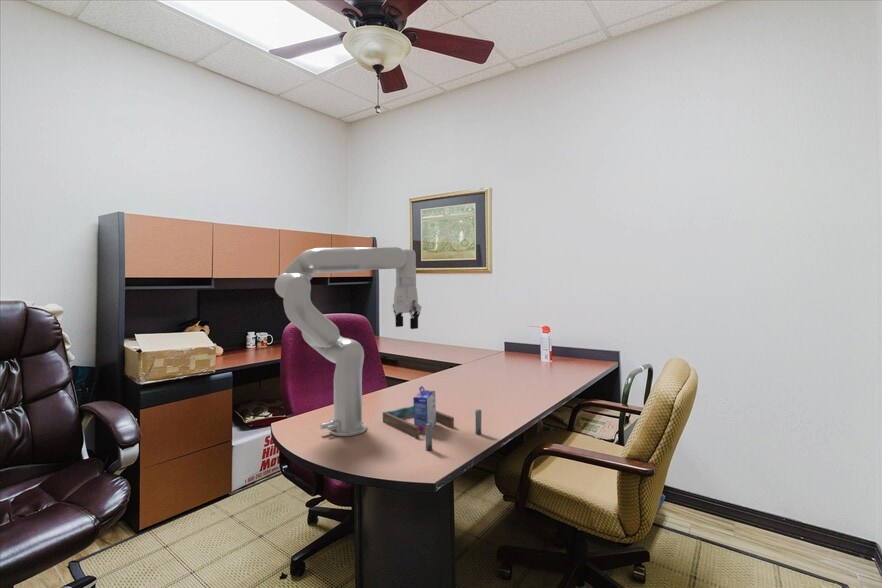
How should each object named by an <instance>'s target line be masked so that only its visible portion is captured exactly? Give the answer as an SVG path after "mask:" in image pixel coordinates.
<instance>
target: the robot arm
mask: <svg viewBox="0 0 882 588" xmlns="http://www.w3.org/2000/svg"><path fill="white" fill-rule="evenodd" d="M416 256H417V255H416V251H415V250H414V249H402V248H401V247H397V246H393V247H390V246H387V247H355V246H354V247H351V246H349V247H315V248H311V249H307V250H304V251H303V252H301V253H300V254H299V255H298V256H297V257H296V258H295V260H293V261H292V262H291V264H289V265H288V266H287V267H286V268H285V269H284V270H283V271H282V272H281V273H280V274H279V275H278V277H276V279H275V283H274V290H275V293H276V294H277V295H278V296H279V297H280V298H282V299H283V309H284V313H285V315H286V318H288V320H289V321H290V323H292V324H293V325H294V326H295V327H296V328H297V329H298V330H299V331H301V336H302V338H303V340H304V342H305V343H307V344H308V345H309V346H310V347H311V348H312V349H313V350H315V351H316V352H317V353H319V354H320V355H321V356H322V357H323V358H325V359H326V360H328V361H329V362H331V363H332V364H335V368H334V373H333V417H331V419H330V420H329V421H328V422H323V423H320V424H319V428H320V430H326V429H327V431H328V432H329V433H330V434H331V435H333V436H336V437H337V436H338V437H352V436H357V435H360V434H363V433H364V432H366V430H367V428H368V427H367V424H366V423H365V422H363V384H362V382H363V365H364V360H365V351H364V347H363V346H362V344H361V343H360V342H358V341H357V340H355V339H352V338H348V337H343V336H342V335H340V329H339V327H338V326H337V325H336V323H334V322H333V321H332V320H331V319H329V318H328V317H327V316H325V315H324V314H323V313H322V312H321V311H319V309H317V307H316V306H315V305H314V304H313V303H312V300H311V291H312V284H311V280H312V279H313V278H314V276H315V275H320V274H321V275H323V274H324V275H326V274H341V273H359V272H367V271H373V270H375V271H377V270H394V269H395V288H394V294H393V295H394V296H393V304H392V309H393V313H394V317H395V327H396V328H400V327H404V315H403V314H408V313H409V315H410V318H409V319H410V320H409V323H410V324H409V326H410V330H415V329H419V318H420V315H421V311H422V306H421V305H420V304H419V298H418V289H417V277H416V276H417V268H416V267H417V263H416V261H417V259H416Z"/></svg>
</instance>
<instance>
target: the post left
mask: <svg viewBox="0 0 882 588" xmlns="http://www.w3.org/2000/svg"><path fill="white" fill-rule="evenodd" d="M425 451H428V452H431V451H433V428H432V423H426V433H425Z"/></svg>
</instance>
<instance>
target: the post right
mask: <svg viewBox="0 0 882 588" xmlns="http://www.w3.org/2000/svg"><path fill="white" fill-rule="evenodd" d="M476 434H477V435H476ZM475 435H476V436H481V435H482V410H481V409H475Z"/></svg>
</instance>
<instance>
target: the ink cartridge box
mask: <svg viewBox="0 0 882 588" xmlns="http://www.w3.org/2000/svg"><path fill="white" fill-rule="evenodd" d="M418 389H419V392H418V393H417V394H416V395H415V396H413V405H414V416H413V425H416V426H418V427H419V433H421V434H426V423H432V429H434V427H435V426H436V425H437V422H436V411H437V409H436V407H437V402H436V401H437V400H436V391H435V390H427V389H425V388H424V386H423V385H421V386H419V388H418Z"/></svg>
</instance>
